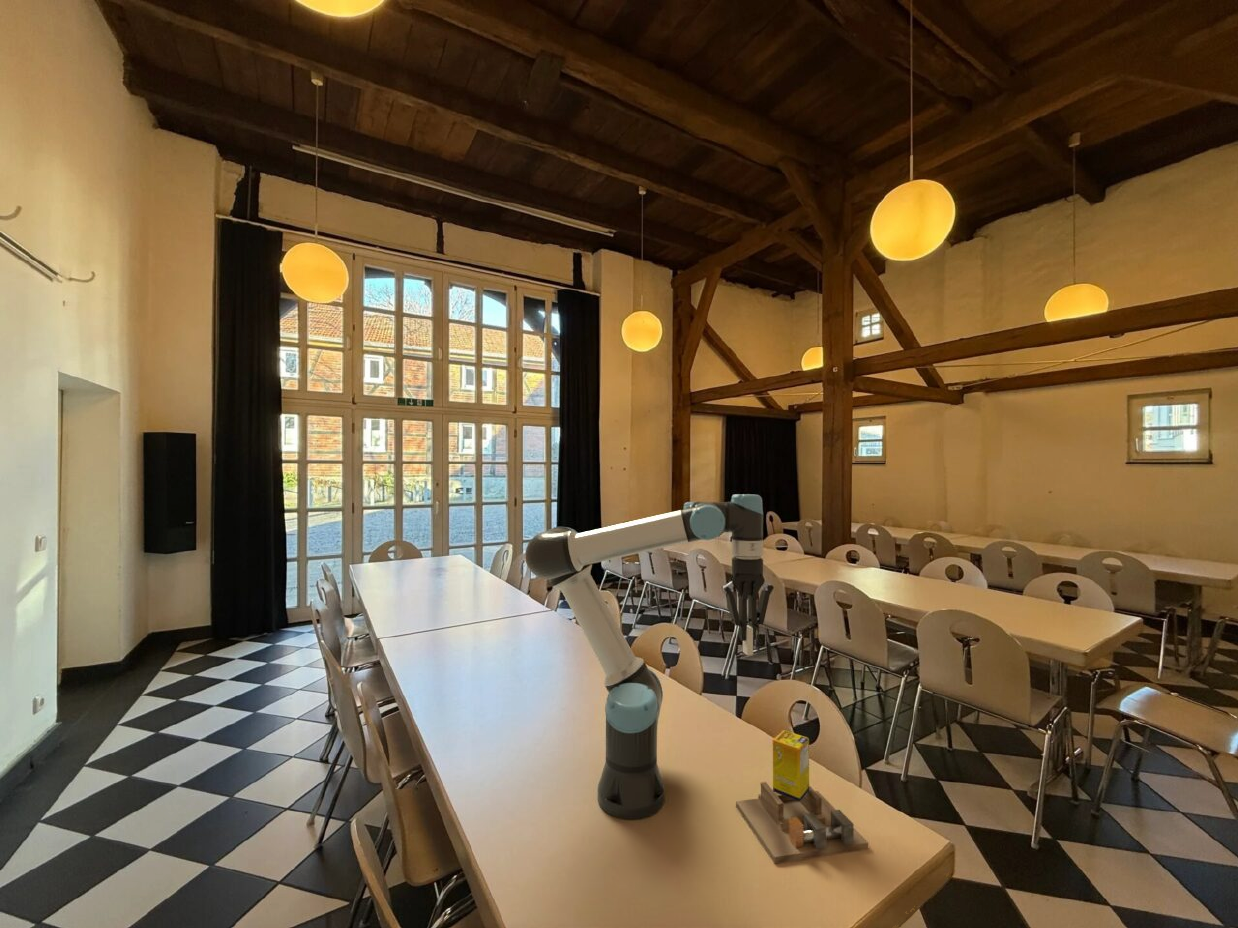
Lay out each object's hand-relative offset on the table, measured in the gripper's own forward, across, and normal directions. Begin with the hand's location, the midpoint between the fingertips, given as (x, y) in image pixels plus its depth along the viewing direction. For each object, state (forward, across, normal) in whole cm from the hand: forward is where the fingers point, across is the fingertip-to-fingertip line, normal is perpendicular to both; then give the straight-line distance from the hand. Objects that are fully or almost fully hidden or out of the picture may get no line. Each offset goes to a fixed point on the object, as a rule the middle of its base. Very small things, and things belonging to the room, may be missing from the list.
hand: (747, 653), depth 126 cm
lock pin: (+28, +4, -25) cm, 38 cm away
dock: (+30, +2, -19) cm, 35 cm away
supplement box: (+24, +2, -16) cm, 29 cm away
